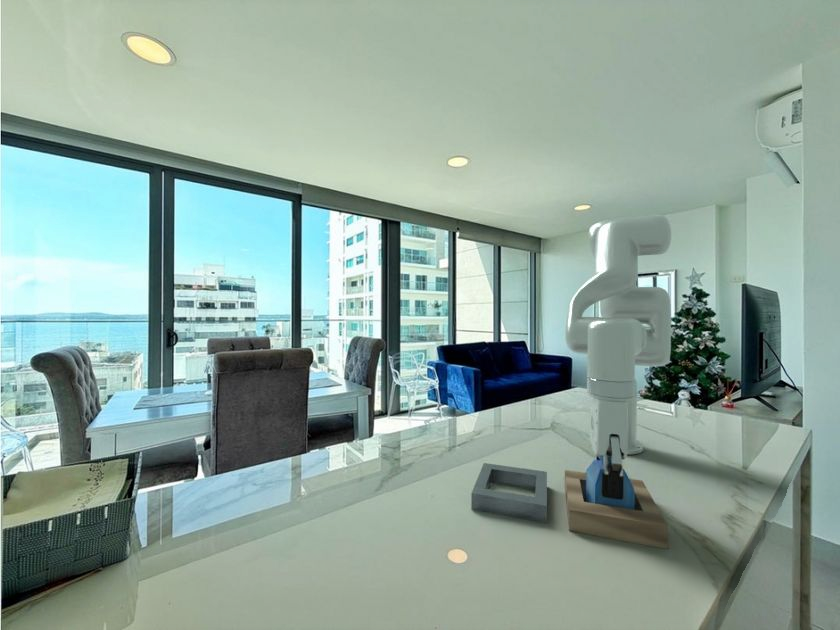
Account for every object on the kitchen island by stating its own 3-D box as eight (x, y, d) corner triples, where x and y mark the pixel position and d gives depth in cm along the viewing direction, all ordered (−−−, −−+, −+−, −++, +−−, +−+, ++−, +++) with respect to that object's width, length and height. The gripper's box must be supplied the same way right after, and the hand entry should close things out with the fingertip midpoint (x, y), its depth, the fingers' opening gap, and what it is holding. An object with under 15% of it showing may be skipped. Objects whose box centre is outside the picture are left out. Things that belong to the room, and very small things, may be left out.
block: (483, 476, 80) (483, 462, 80) (546, 486, 76) (546, 471, 76) (471, 509, 67) (471, 493, 67) (546, 523, 63) (546, 505, 63)
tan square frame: (564, 486, 76) (564, 469, 76) (642, 498, 71) (642, 480, 71) (569, 530, 61) (569, 509, 61) (667, 548, 56) (668, 526, 56)
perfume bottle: (633, 525, 62) (634, 454, 62) (594, 520, 64) (595, 451, 64) (621, 506, 69) (622, 442, 68) (585, 502, 70) (586, 439, 70)
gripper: (582, 378, 75) (581, 465, 75) (592, 397, 59) (591, 508, 59) (624, 381, 73) (622, 470, 73) (646, 401, 56) (645, 517, 57)
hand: (608, 486), depth 66 cm, fingers closed on perfume bottle, 6 cm apart
